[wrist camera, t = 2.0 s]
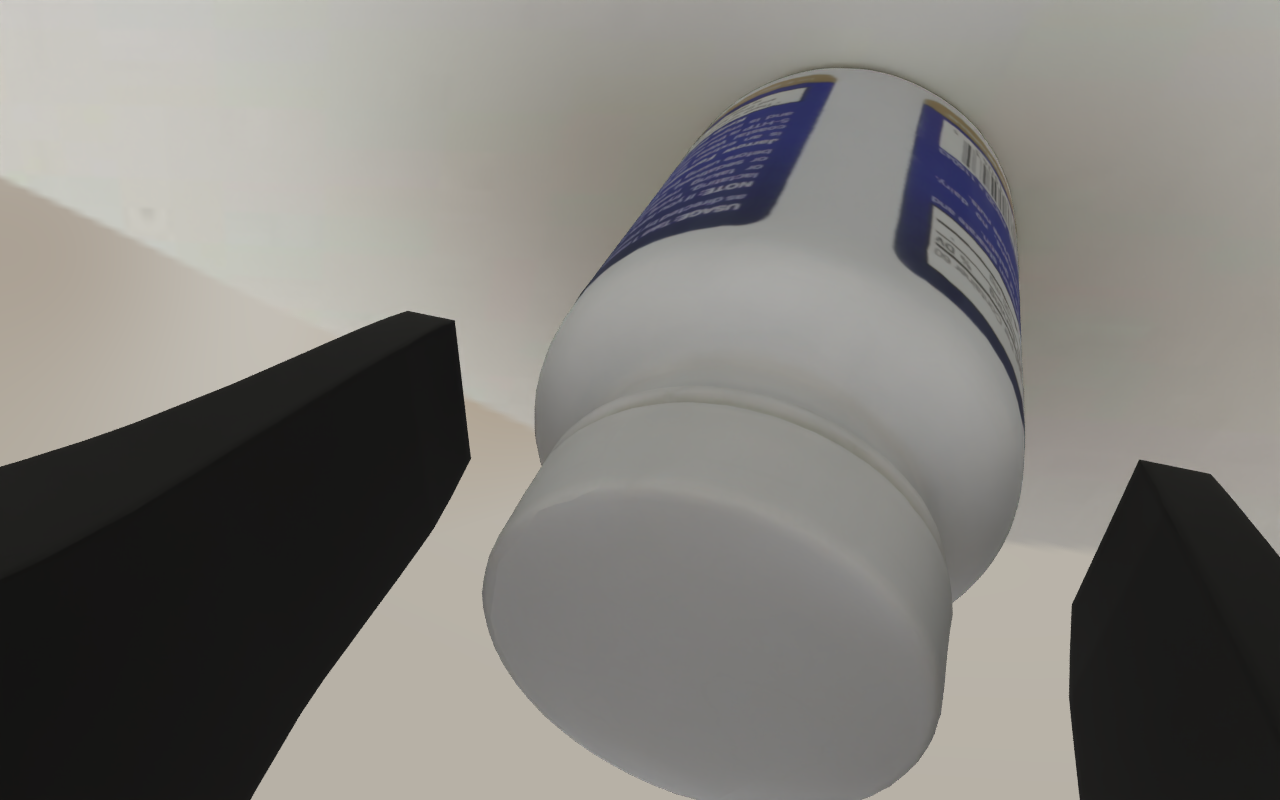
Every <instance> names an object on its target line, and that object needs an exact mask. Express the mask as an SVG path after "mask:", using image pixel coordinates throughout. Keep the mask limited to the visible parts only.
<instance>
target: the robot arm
mask: <svg viewBox="0 0 1280 800" xmlns="http://www.w3.org/2000/svg"><path fill="white" fill-rule="evenodd" d="M470 459H471V456H470V448H469V439H468V431H467V421H466V413H465V405H464V396H463V387H462V379H461V370H460V362H459V353H458V344H457V336H456V327H455V320H450V319H445V318H440V317H435V316H430V315H425V314H420V313H415V312H410V311H406V312H403V313H400V314H397V315H394V316H391V317H388V318H385V319H383V320H380V321H378V322H375V323H373V324H370V325H368V326H365V327H363V328H360V329H358V330H356V331H353V332H351V333H348V334H346V335H344V336H342V337H339V338H337V339H335V340H332V341H330V342H328V343H325V344H323V345H321V346H319V347H316V348H314V349H312V350H310V351H307V352H306V353H303V354H300V355H298V356H296V357H294V358H291V359H289V360H287V361H285V362H282V363H280V364H277V365H275V366H273V367H271V368H268V369H266V370H264V371H262V372H259V373H257V374H255V375H252V376H250V377H248V378H245V379H243V380H241V381H238V382H236V383H234V384H231V385H229V386H226V387H224V388H221V389H219V390H217V391H214V392H211V393H209V394H206V395H204V396H201V397H199V398H196V399H194V400H191V401H189V402H186V403H184V404H181V405H179V406H176V407H174V408H171V409H168V410H166V411H163V412H161V413H159V414H156V415H153V416H151V417H148V418H146V419H143V420H141V421H138V422H136V423H133V424H130V425H127V426H125V427H122V428H119V429H116V430H114V431H111V432H108V433H105V434H102V435H99V436H96V437H93V438H90V439H88V440H85V441H82V442H79V443H76V444H73V445H69V446H66V447H63V448H60V449H57V450H53V451H50V452H47V453H44V454H41V455H38V456H34V457H32V458H28V459H25V460H22V461H19V462H15V463H12V464H8V465H5V466H1V467H0V800H250V799H251V798H252V796H253V794H254V792H255V791H256V789H257V787H258V785H259V784H260V782H261V780H262V778H263V777H264V775H265V773H266V772H267V770H268V768H269V767H270V765H271V763H272V762H273V760H274V758H275V757H276V755H277V753H278V751H279V750H280V748H281V746H282V744H283V743H284V741H285V739H286V738H287V736H288V734H289V732H290V731H291V729H292V728H293V726H294V724H295V723H296V721H297V719H298V717H299V716H300V714H301V713H302V711H303V709H304V708H305V707H306V705H307V704H308V702H309V700H310V699H311V698H312V696H313V695H314V693H315V692H316V690H317V689H318V687H319V686H320V684H321V683H322V681H323V680H324V679H325V677H326V676H327V674H328V673H329V671H330V670H331V669H332V668H333V666H334V665H335V664H336V662H337V661H338V659H339V658H340V657H341V655H342V654H343V653H344V651H345V650H346V649H347V647H348V646H349V645H350V643H351V642H352V640H353V639H354V638H355V636H356V635H357V634H358V632H359V631H360V629H361V628H362V627H363V625H364V624H365V623H366V621H367V620H368V619H369V617H370V616H371V615H372V613H373V612H374V610H375V609H376V608H377V606H378V605H379V604H380V602H381V601H382V600H383V598H384V597H385V596H386V594H387V593H388V592H389V590H390V589H391V587H392V586H393V585H394V583H395V582H396V581H397V579H398V578H399V577H400V575H401V574H402V572H403V571H404V570H405V568H406V567H407V565H408V564H409V563H410V561H411V560H412V558H413V557H414V556H415V554H416V553H417V552H418V550H419V549H420V547H421V546H422V545H423V543H424V542H425V540H426V539H427V537H428V536H429V534H430V533H431V531H432V530H433V529H434V527H435V525H436V523H437V522H438V520H439V518H440V516H441V514H442V513H443V511H444V509H445V507H446V505H447V504H448V502H449V500H450V498H451V496H452V495H453V493H454V491H455V489H456V487H457V485H458V483H459V481H460V479H461V477H462V475H463V473H464V471H465V469H466V467H467V465H468V463H469V461H470ZM1069 701H1070V711H1071V722H1072V731H1073V741H1074V750H1075V759H1076V768H1077V777H1078V787H1079V795H1080V800H1280V557H1279V555H1278V554H1277V553H1276V552H1275V550H1274V549H1273V548H1272V547H1271V546H1270V544H1269V543H1268V542H1267V541H1266V539H1265V538H1264V537H1263V536H1262V535H1261V533H1260V532H1259V531H1258V530H1257V528H1256V527H1255V526H1254V525H1253V524H1252V522H1251V521H1250V520H1249V519H1248V517H1247V516H1246V515H1245V514H1244V512H1243V511H1242V510H1241V509H1240V508H1239V506H1238V505H1237V504H1236V503H1235V502H1234V500H1233V499H1232V498H1231V497H1230V496H1229V494H1228V493H1227V492H1226V491H1225V490H1224V489H1223V487H1222V486H1221V485H1220V484H1219V483H1218V482H1217V481H1216V480H1215V478H1214V477H1213V476H1212V475H1211V474H1208V473H1203V472H1198V471H1193V470H1188V469H1183V468H1178V467H1173V466H1168V465H1163V464H1158V463H1154V462H1149V461H1144V460H1139V461H1138V464H1137V466H1136V468H1135V470H1134V472H1133V474H1132V477H1131V479H1130V481H1129V483H1128V485H1127V487H1126V489H1125V492H1124V494H1123V496H1122V498H1121V500H1120V502H1119V504H1118V507H1117V509H1116V511H1115V513H1114V515H1113V517H1112V520H1111V522H1110V524H1109V526H1108V528H1107V530H1106V532H1105V535H1104V537H1103V539H1102V541H1101V543H1100V545H1099V547H1098V550H1097V552H1096V554H1095V556H1094V558H1093V560H1092V563H1091V565H1090V567H1089V569H1088V571H1087V573H1086V576H1085V578H1084V580H1083V582H1082V584H1081V586H1080V589H1079V591H1078V593H1077V595H1076V597H1075V599H1074V601H1073V603H1072V616H1071V640H1070V679H1069Z"/></svg>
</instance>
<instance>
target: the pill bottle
mask: <svg viewBox="0 0 1280 800" xmlns="http://www.w3.org/2000/svg"><path fill="white" fill-rule="evenodd" d="M535 436H536V443H537V448H538V452H539V457H540V462H541V465H542V467H541V468H540V470H539V471H538V473H537V475H536V477H535V478H534V479H533V481H532V483H531V484H530V486H529V487H528V489H527V490H526V492H525V494H524V495H523V497H522V498H521V500H520V502H519V504H518V505H517V507H516V509H515V510H514V512H513V514H512V515H511V517H510V518H509V520H508V522H507V523H506V525H505V527H504V528H503V530H502V532H501V533H500V535H499V537H498V539H497V541H496V543H495V545H494V547H493V549H492V551H491V554H490V556H489V559H488V563H487V567H486V571H485V576H484V582H483V591H482V597H483V608H484V613H485V618H486V622H487V626H488V630H489V633H490V636H491V639H492V641H493V644H494V647H495V649H496V651H497V653H498V655H499V657H500V659H501V661H502V663H503V665H504V666H505V668H506V669H507V671H508V672H509V674H510V675H511V677H512V678H513V680H514V681H515V683H516V684H517V685H518V687H519V688H520V689H521V690H522V692H523V693H524V694H525V695H526V696H527V698H528V699H529V700H530V701H531V702H532V703H533V704H534V705H535V706H536V707H537V708H538V710H539V711H541V713H542V714H543V715H544V716H545V717H546V718H548V719H549V720H550V721H551V722H552V723H553V724H555V725H556V726H557V727H558V728H559V729H561V730H562V731H563V732H564V733H566V734H567V735H568V736H569V737H570V738H572V739H573V740H574V741H576V742H577V743H578V744H580V745H581V746H583V747H584V748H586V749H587V750H589V751H590V752H592V753H593V754H595V755H596V756H598V757H600V758H601V759H603V760H605V761H606V762H608V763H610V764H612V765H613V766H615V767H617V768H619V769H621V770H623V771H624V772H626V773H628V774H630V775H632V776H634V777H637V778H639V779H641V780H643V781H645V782H647V783H650V784H652V785H654V786H657V787H659V788H662V789H665V790H667V791H670V792H672V793H675V794H678V795H682V796H685V797H689V798H693V799H696V800H862V799H864V798H868V797H870V796H872V795H874V794H876V793H878V792H879V791H881V790H883V789H885V788H887V787H889V786H891V785H892V784H893V783H894V782H896V781H897V780H898V779H900V778H901V777H902V776H903V775H905V774H906V773H907V772H908V771H909V770H910V769H911V768H912V767H913V766H914V765H915V764H916V763H917V762H918V761H919V759H920V758H921V756H922V755H923V753H924V752H925V750H926V749H927V747H928V745H929V744H930V742H931V740H932V738H933V735H934V734H935V730H936V727H937V724H938V720H939V718H940V715H941V708H942V700H943V692H944V683H945V672H946V660H947V651H948V642H949V633H950V627H951V620H952V603H953V602H954V601H955V600H956V599H958V598H959V597H960V596H961V595H963V594H964V593H965V592H966V591H967V590H968V589H969V588H970V587H971V586H972V585H973V584H974V583H975V582H976V581H977V580H978V579H979V578H980V577H981V575H982V574H983V573H984V572H985V571H986V570H987V568H988V567H989V566H990V564H991V563H992V561H993V560H994V558H995V557H996V555H997V554H998V552H999V551H1000V549H1001V547H1002V545H1003V543H1004V541H1005V539H1006V537H1007V535H1008V533H1009V531H1010V529H1011V526H1012V523H1013V520H1014V517H1015V514H1016V510H1017V507H1018V503H1019V499H1020V494H1021V487H1022V480H1023V469H1024V450H1025V420H1024V387H1023V368H1022V345H1021V323H1020V296H1019V265H1018V247H1017V232H1016V223H1015V215H1014V208H1013V203H1012V198H1011V193H1010V190H1009V186H1008V183H1007V180H1006V177H1005V175H1004V172H1003V170H1002V167H1001V165H1000V163H999V161H998V159H997V157H996V155H995V154H994V152H993V150H992V149H991V147H990V146H989V144H988V143H987V141H986V140H985V138H984V137H983V136H982V135H981V133H980V132H979V131H978V130H977V128H976V127H975V126H974V125H973V124H972V123H971V122H970V121H969V120H968V119H967V118H966V117H965V116H964V115H963V114H962V113H960V112H959V111H958V110H957V109H955V108H954V107H953V106H951V105H950V104H949V103H947V102H946V101H945V100H943V99H942V98H940V97H938V96H937V95H935V94H933V93H932V92H930V91H928V90H927V89H924V88H922V87H920V86H918V85H916V84H914V83H912V82H910V81H907V80H905V79H902V78H900V77H896V76H893V75H890V74H887V73H882V72H877V71H872V70H866V69H854V68H825V69H817V70H811V71H806V72H802V73H797V74H794V75H790V76H787V77H784V78H780V79H778V80H775V81H773V82H770V83H768V84H766V85H764V86H762V87H760V88H758V89H756V90H754V91H752V92H750V93H749V94H747V95H745V96H744V97H742V98H741V99H739V100H738V101H737V102H735V103H734V104H732V105H731V106H730V107H729V108H728V109H726V110H725V111H724V112H723V113H722V114H721V115H720V116H719V117H718V118H717V119H716V120H715V121H714V122H713V123H712V124H711V125H710V126H709V127H708V129H707V130H706V131H705V132H704V133H703V134H702V135H701V136H700V138H699V139H698V140H697V141H696V142H695V144H694V145H693V146H692V147H691V148H690V150H689V151H688V153H687V154H686V156H685V157H684V158H683V160H682V161H681V163H680V164H679V165H678V167H677V168H676V169H675V170H674V172H673V173H672V174H671V175H670V177H669V178H668V180H667V181H666V182H665V184H664V185H663V186H662V188H661V189H660V190H659V192H658V193H657V194H656V196H655V197H654V198H653V200H652V201H651V202H650V203H649V205H648V206H647V207H646V209H645V210H644V211H643V213H642V214H641V215H640V217H639V218H638V219H637V220H636V222H635V223H634V224H633V226H632V227H631V228H630V230H629V231H628V232H627V234H626V235H625V236H624V238H623V239H622V240H621V241H620V243H619V244H618V245H617V247H616V248H615V249H614V251H613V252H612V253H611V255H610V256H609V257H608V259H607V260H606V261H605V263H604V264H603V265H602V267H601V268H600V269H599V271H598V272H597V273H596V275H595V276H594V277H593V279H592V280H591V281H590V283H589V284H588V285H587V286H586V288H585V289H584V290H583V292H582V293H581V295H580V296H579V298H578V299H577V301H576V302H575V304H574V305H573V307H572V309H571V310H570V311H569V313H568V314H567V316H566V317H565V318H564V320H563V322H562V324H561V326H560V327H559V329H558V331H557V333H556V334H555V336H554V338H553V340H552V342H551V344H550V347H549V349H548V352H547V354H546V357H545V360H544V363H543V366H542V369H541V372H540V377H539V381H538V385H537V389H536V400H535Z"/></svg>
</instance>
